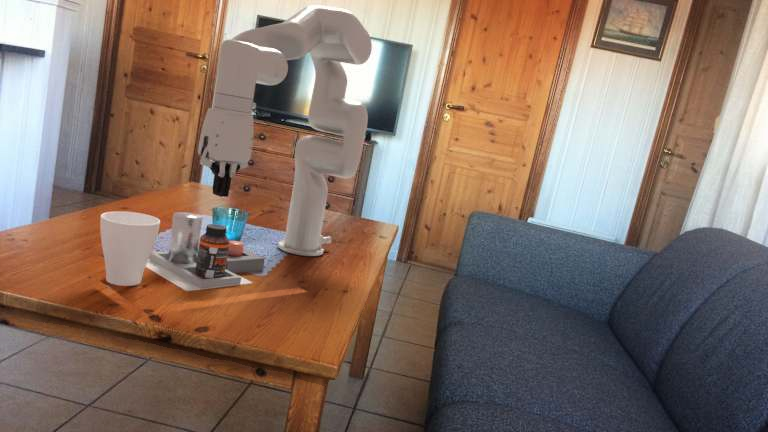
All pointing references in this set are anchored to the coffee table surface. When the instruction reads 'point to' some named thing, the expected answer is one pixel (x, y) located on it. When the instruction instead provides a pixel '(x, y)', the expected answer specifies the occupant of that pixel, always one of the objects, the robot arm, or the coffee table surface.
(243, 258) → the grey square block
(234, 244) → the button
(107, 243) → the cup
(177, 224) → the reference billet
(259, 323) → the coffee table surface
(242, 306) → the coffee table surface
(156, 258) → the tray
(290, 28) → the robot arm
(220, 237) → the supplement bottle
